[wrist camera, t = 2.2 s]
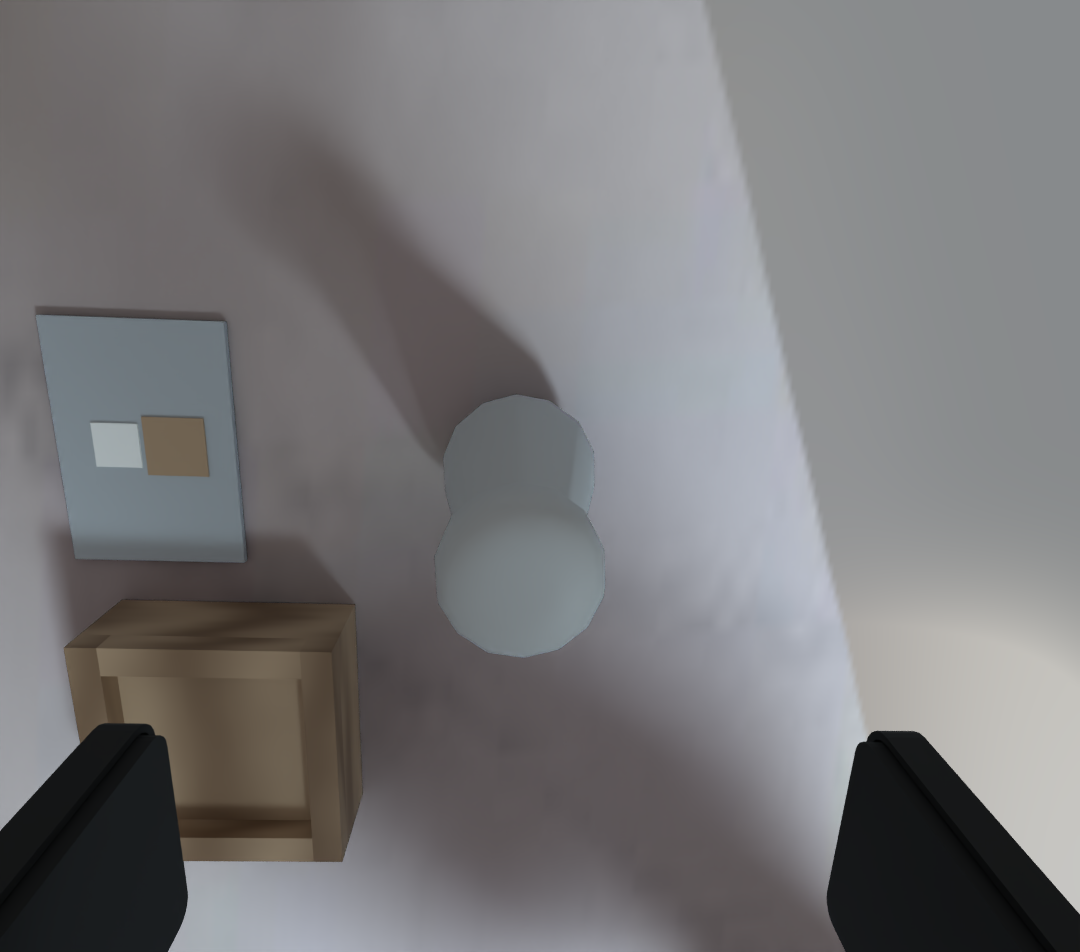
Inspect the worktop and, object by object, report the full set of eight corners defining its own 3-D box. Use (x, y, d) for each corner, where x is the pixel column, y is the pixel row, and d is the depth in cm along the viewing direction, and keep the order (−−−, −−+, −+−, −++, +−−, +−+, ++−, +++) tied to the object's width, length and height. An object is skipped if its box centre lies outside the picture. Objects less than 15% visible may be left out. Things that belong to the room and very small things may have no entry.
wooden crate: (355, 604, 30) (331, 652, 26) (362, 793, 33) (342, 861, 29) (122, 599, 30) (63, 647, 26) (149, 791, 33) (100, 860, 29)
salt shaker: (588, 518, 29) (641, 697, 17) (454, 523, 29) (408, 707, 17) (587, 382, 28) (644, 469, 15) (445, 387, 28) (385, 479, 15)
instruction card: (226, 321, 27) (222, 322, 26) (247, 560, 29) (243, 563, 29) (40, 314, 26) (33, 315, 26) (79, 556, 29) (73, 559, 29)
